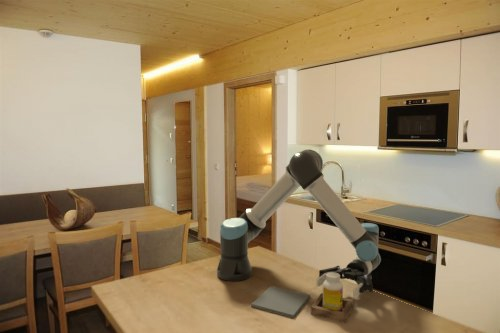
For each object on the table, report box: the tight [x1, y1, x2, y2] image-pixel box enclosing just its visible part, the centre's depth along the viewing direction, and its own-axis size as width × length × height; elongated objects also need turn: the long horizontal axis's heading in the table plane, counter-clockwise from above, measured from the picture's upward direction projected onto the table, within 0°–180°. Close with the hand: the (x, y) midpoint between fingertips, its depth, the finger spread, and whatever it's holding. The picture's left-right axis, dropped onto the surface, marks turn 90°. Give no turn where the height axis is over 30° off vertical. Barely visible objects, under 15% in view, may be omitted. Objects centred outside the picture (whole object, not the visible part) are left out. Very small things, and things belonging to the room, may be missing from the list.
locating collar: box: [310, 292, 354, 324], centre depth 122 cm, size 12×12×2 cm
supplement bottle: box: [322, 272, 344, 312], centre depth 121 cm, size 7×7×13 cm
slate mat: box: [250, 285, 311, 319], centre depth 128 cm, size 16×16×1 cm
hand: (335, 288), depth 121 cm, fingers open, 13 cm apart
